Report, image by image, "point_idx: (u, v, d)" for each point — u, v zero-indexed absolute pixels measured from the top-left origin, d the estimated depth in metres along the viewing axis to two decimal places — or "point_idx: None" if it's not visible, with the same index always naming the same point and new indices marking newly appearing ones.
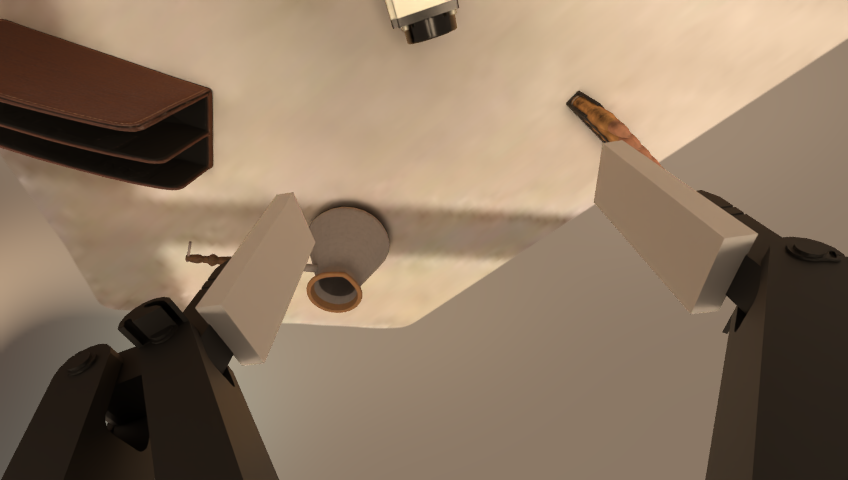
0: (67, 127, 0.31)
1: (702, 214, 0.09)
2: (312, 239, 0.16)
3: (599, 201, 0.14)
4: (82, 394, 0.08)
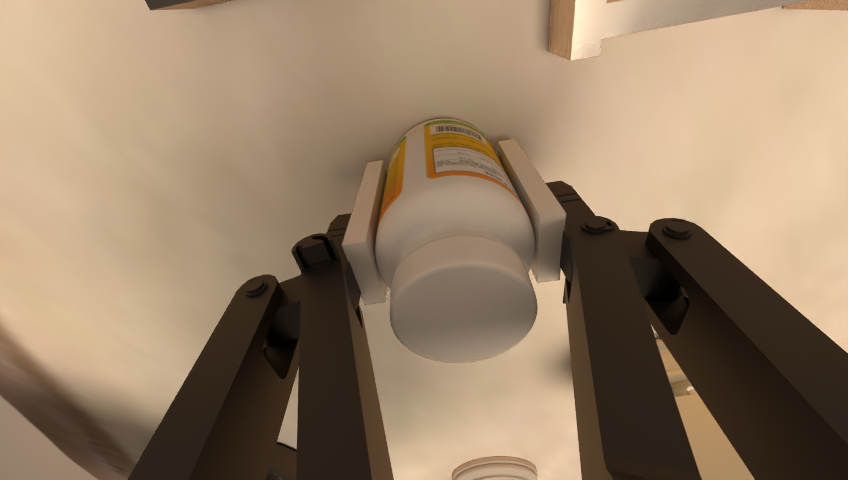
0: None
1: (536, 199, 0.11)
2: None
3: None
4: (252, 317, 0.09)
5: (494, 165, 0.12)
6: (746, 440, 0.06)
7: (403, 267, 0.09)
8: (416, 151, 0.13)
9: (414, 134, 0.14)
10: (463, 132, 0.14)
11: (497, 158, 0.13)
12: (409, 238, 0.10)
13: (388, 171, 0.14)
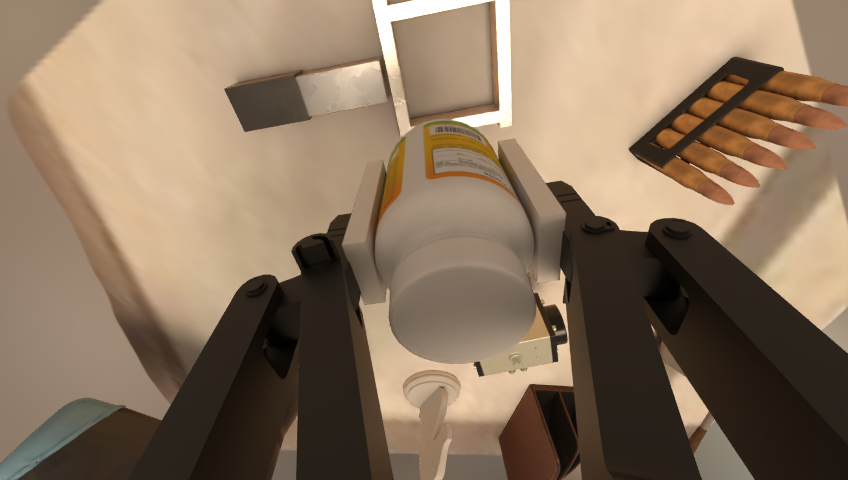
0: None
1: (536, 199, 0.11)
2: None
3: None
4: (252, 317, 0.09)
5: (493, 166, 0.12)
6: (746, 440, 0.06)
7: (402, 268, 0.09)
8: (415, 151, 0.13)
9: (413, 135, 0.14)
10: (463, 133, 0.14)
11: (496, 159, 0.13)
12: (409, 239, 0.10)
13: (387, 172, 0.14)
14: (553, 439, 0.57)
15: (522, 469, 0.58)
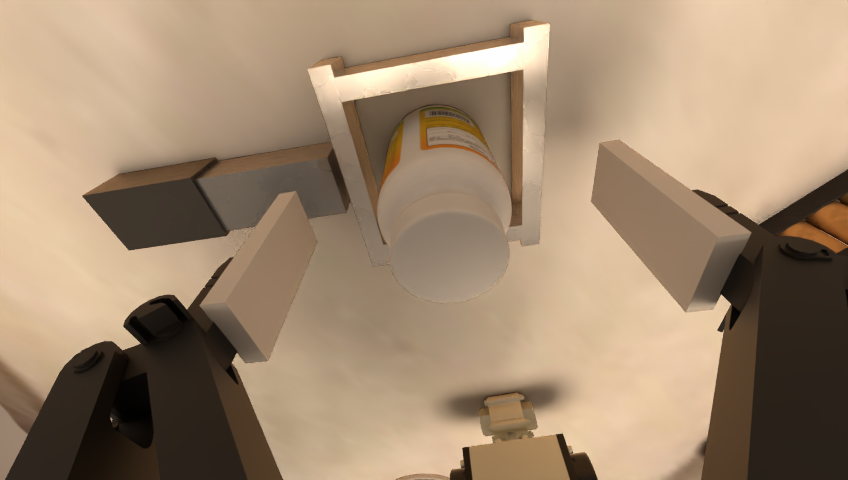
0: None
1: (697, 213, 0.09)
2: (314, 238, 0.16)
3: (596, 200, 0.14)
4: (87, 391, 0.08)
5: (478, 142, 0.14)
6: None
7: (400, 219, 0.11)
8: (412, 131, 0.15)
9: (411, 118, 0.16)
10: (453, 116, 0.16)
11: (482, 138, 0.15)
12: (406, 199, 0.12)
13: (388, 151, 0.16)
14: None
15: None
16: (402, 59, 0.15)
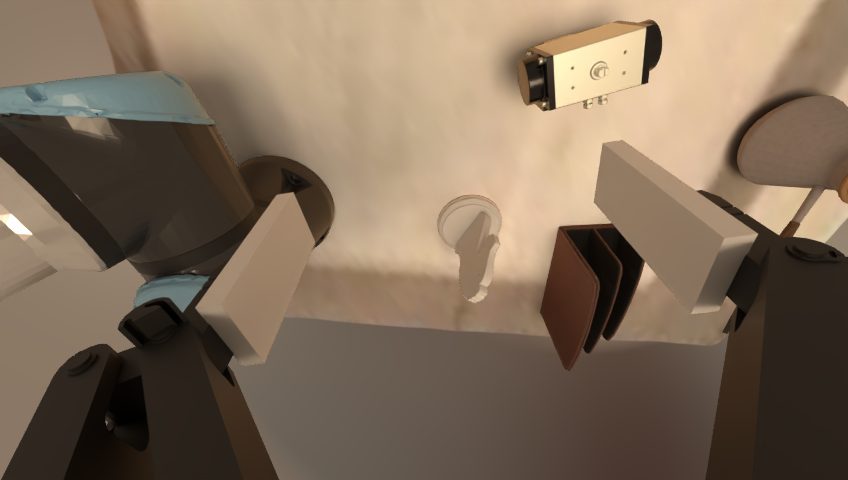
0: (599, 304, 0.50)
1: (702, 214, 0.09)
2: (312, 239, 0.16)
3: (599, 201, 0.14)
4: (82, 394, 0.08)
5: None
6: None
7: None
8: None
9: None
10: None
11: None
12: None
13: None
14: None
15: (565, 320, 0.53)
16: None
